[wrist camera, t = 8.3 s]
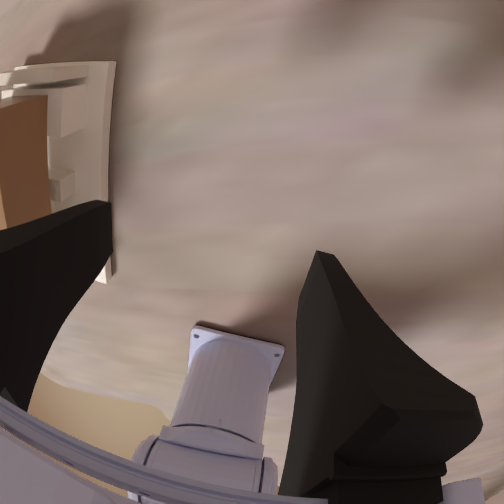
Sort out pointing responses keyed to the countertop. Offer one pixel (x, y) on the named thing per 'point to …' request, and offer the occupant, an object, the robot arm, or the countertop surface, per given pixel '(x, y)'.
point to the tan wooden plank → (23, 160)
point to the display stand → (73, 128)
